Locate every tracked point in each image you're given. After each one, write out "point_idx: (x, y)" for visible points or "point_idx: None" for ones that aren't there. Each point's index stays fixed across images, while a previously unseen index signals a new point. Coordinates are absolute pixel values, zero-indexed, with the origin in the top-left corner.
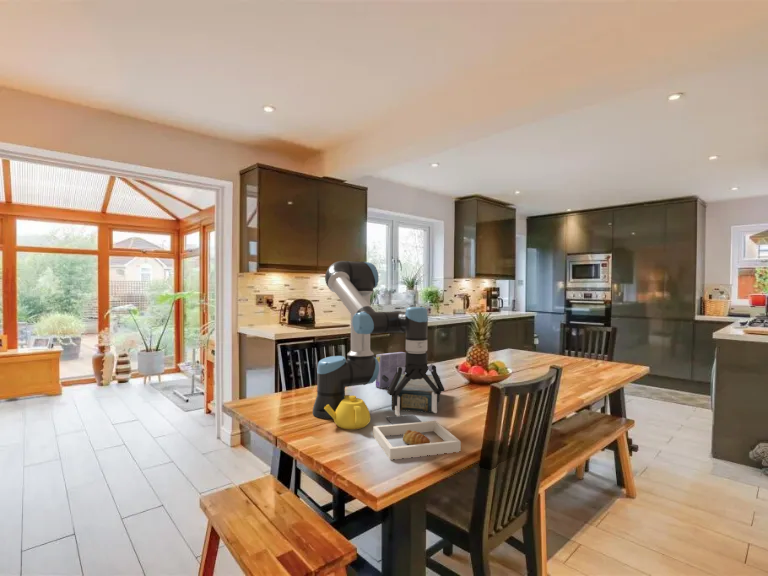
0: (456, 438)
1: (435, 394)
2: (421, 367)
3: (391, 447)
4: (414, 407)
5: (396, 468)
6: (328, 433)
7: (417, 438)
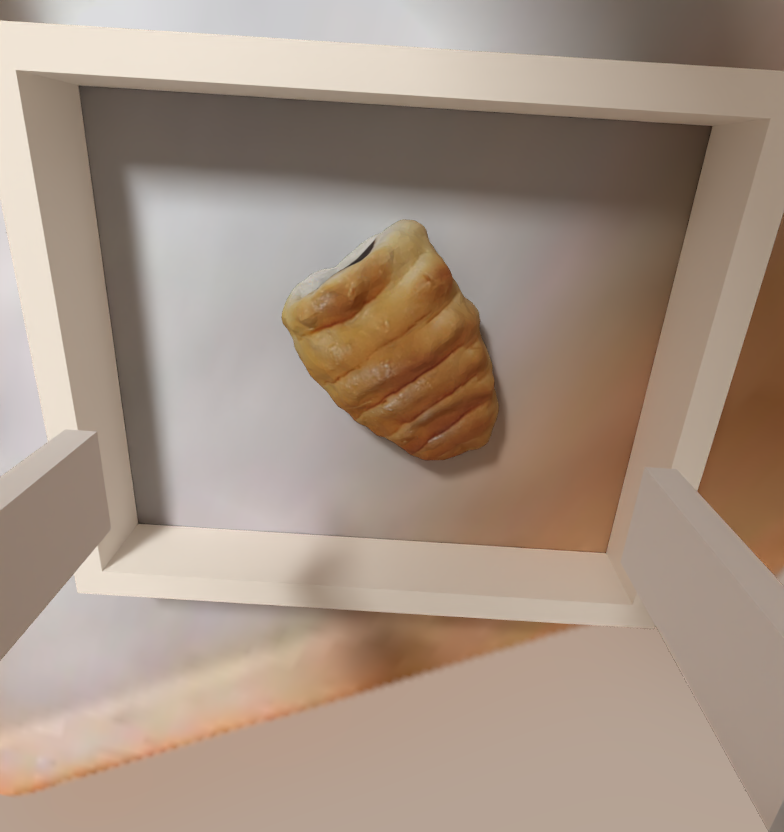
0: None
1: (778, 830)
2: None
3: (91, 575)
4: None
5: (134, 635)
6: None
7: (383, 418)
